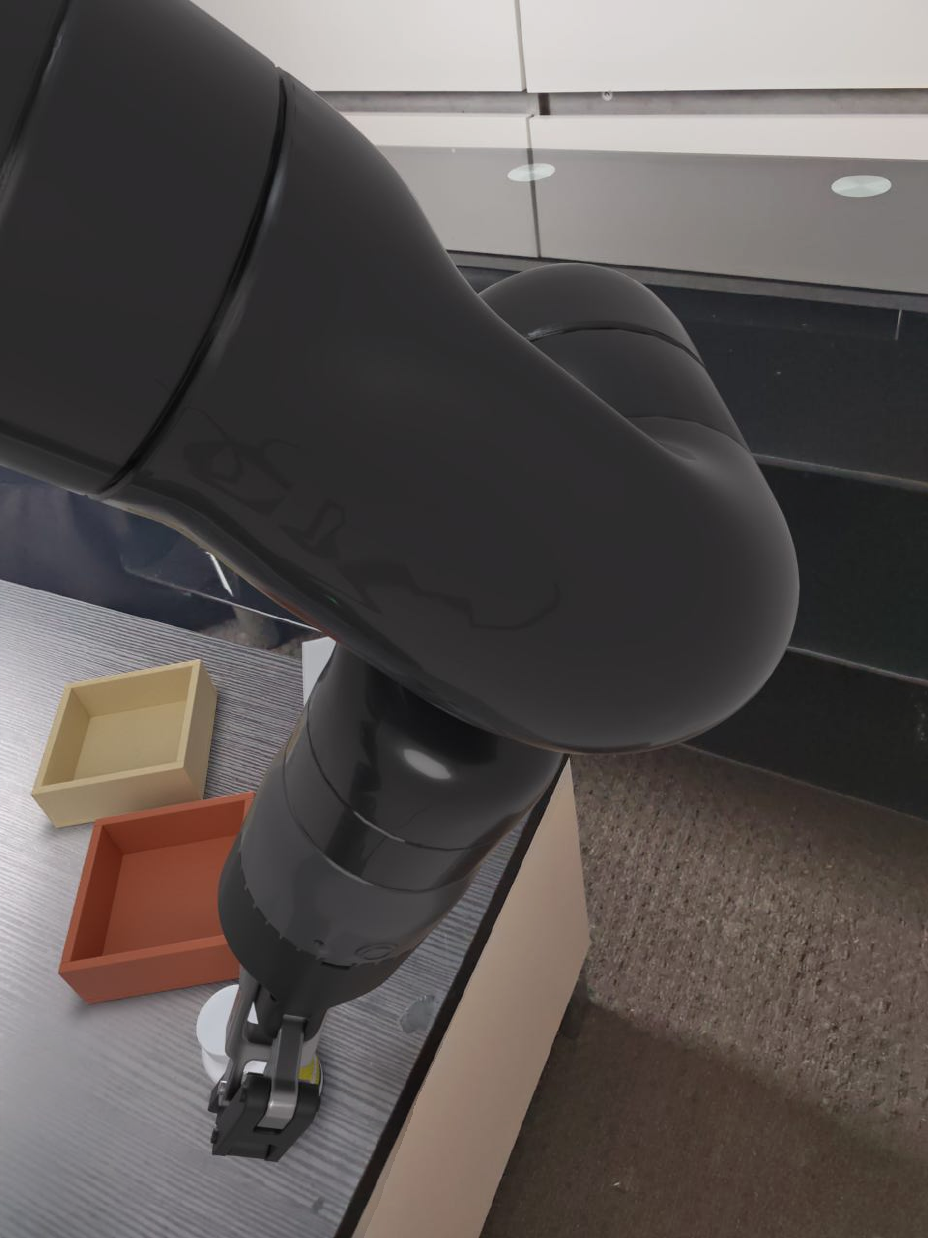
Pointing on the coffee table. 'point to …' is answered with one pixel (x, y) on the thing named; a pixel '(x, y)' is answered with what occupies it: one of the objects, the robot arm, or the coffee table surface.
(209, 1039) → the supplement bottle
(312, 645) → the ink box
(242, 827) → the robot arm
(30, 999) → the coffee table surface
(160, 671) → the cream bin
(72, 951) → the terracotta bin
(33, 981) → the coffee table surface
